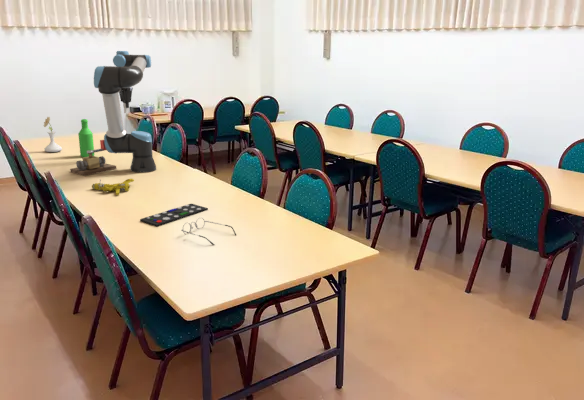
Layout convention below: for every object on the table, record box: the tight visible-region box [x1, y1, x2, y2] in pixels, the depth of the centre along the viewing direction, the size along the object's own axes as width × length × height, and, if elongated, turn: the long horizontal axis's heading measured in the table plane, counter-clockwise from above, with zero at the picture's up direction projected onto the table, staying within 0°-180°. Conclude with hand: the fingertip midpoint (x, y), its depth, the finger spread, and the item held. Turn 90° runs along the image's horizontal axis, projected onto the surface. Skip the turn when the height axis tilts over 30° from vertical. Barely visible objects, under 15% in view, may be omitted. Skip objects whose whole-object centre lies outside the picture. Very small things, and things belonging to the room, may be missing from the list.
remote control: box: [139, 203, 209, 228], centre depth 228 cm, size 11×30×2 cm, turn 144°
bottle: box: [78, 118, 95, 158], centre depth 336 cm, size 9×9×25 cm
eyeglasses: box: [181, 217, 237, 246], centre depth 205 cm, size 16×19×5 cm
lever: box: [87, 139, 107, 154], centre depth 302 cm, size 15×4×6 cm, turn 149°
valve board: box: [69, 154, 117, 177], centre depth 302 cm, size 14×22×11 cm, turn 147°
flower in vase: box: [43, 116, 63, 153], centre depth 347 cm, size 13×11×25 cm
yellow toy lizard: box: [91, 178, 135, 196], centre depth 265 cm, size 22×6×20 cm
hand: (126, 112), depth 329 cm, fingers closed
